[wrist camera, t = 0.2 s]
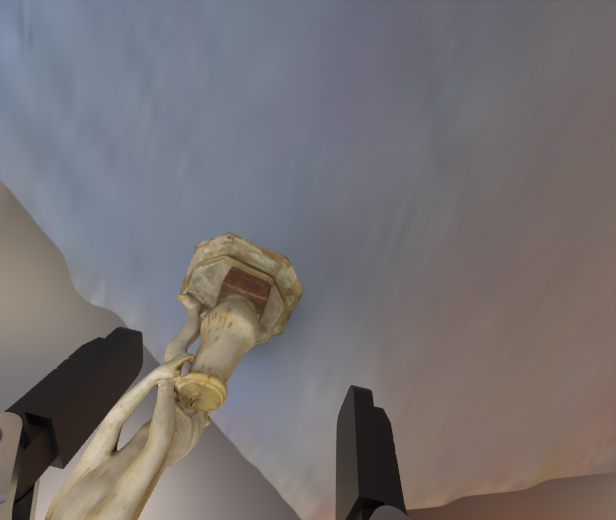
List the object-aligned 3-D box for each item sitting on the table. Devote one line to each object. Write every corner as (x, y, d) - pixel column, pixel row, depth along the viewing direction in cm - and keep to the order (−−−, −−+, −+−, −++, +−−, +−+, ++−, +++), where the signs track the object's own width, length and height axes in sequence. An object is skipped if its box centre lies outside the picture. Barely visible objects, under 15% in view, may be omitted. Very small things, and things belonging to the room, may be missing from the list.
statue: (201, 218, 40) (-324, 575, 8) (315, 270, 42) (237, 735, 10) (173, 311, 47) (-166, 694, 16) (271, 353, 49) (145, 775, 17)
